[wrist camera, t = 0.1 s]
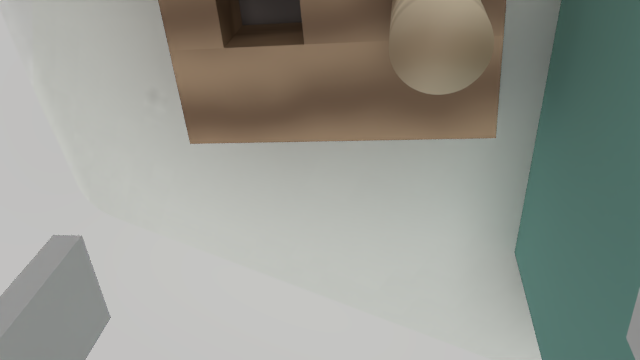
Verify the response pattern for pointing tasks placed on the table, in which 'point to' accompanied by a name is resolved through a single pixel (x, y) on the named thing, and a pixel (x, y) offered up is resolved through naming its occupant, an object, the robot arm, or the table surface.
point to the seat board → (336, 68)
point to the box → (586, 187)
